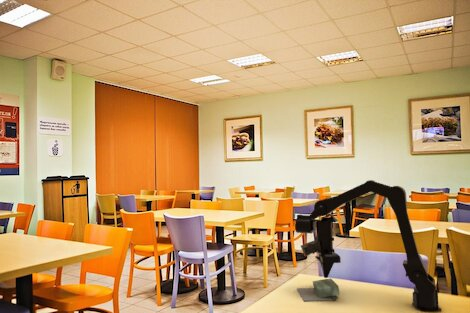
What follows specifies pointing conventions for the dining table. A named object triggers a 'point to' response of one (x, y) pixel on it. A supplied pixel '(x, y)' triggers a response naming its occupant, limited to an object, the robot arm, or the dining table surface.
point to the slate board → (313, 295)
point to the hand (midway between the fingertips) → (325, 277)
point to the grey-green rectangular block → (326, 288)
